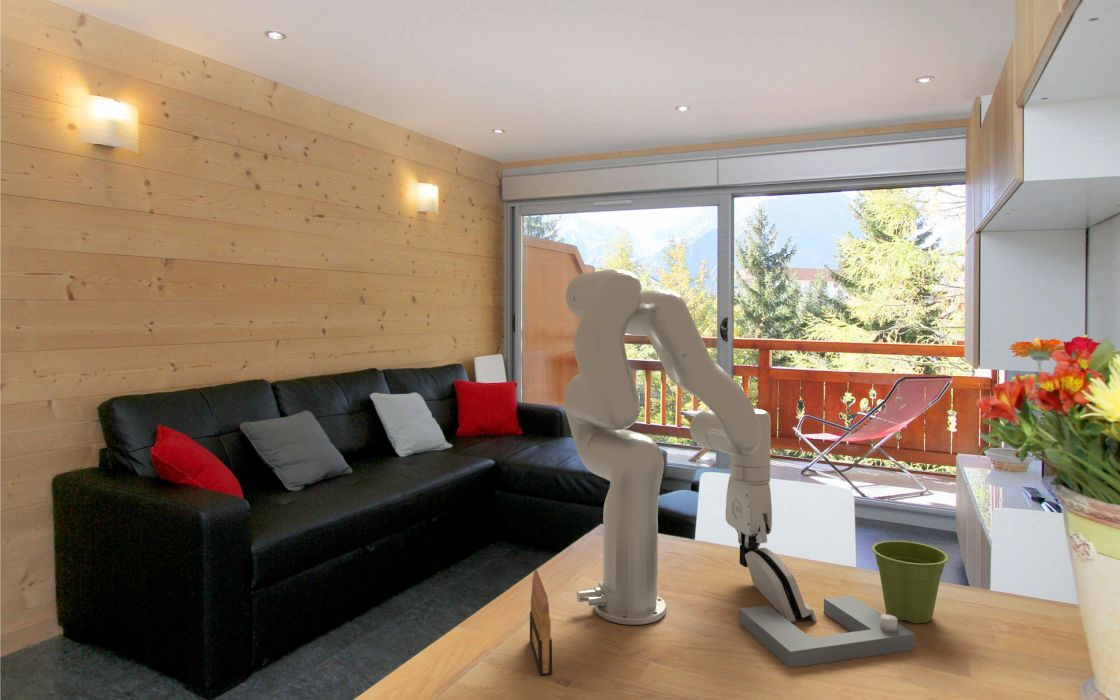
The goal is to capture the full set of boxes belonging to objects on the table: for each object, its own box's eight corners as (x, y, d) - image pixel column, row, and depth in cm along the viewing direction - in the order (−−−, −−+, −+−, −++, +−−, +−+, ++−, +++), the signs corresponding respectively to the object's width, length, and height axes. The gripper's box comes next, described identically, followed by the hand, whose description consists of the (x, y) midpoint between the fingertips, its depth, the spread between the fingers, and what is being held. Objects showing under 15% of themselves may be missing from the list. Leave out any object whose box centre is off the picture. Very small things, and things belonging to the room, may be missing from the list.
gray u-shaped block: (790, 668, 100) (790, 639, 100) (738, 623, 114) (739, 598, 114) (914, 649, 105) (915, 622, 105) (850, 608, 120) (851, 585, 120)
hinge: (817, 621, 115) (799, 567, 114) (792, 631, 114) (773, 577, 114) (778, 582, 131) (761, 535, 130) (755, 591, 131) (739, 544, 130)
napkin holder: (552, 675, 98) (552, 594, 97) (539, 676, 98) (539, 595, 97) (541, 640, 109) (540, 566, 108) (529, 641, 108) (529, 567, 108)
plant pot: (891, 595, 126) (893, 535, 125) (959, 618, 116) (961, 554, 115) (856, 611, 119) (858, 548, 118) (925, 637, 109) (927, 569, 109)
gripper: (714, 465, 138) (713, 554, 139) (753, 483, 123) (752, 581, 124) (746, 463, 140) (745, 550, 141) (789, 480, 125) (788, 577, 126)
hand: (748, 564), depth 132 cm, fingers closed
